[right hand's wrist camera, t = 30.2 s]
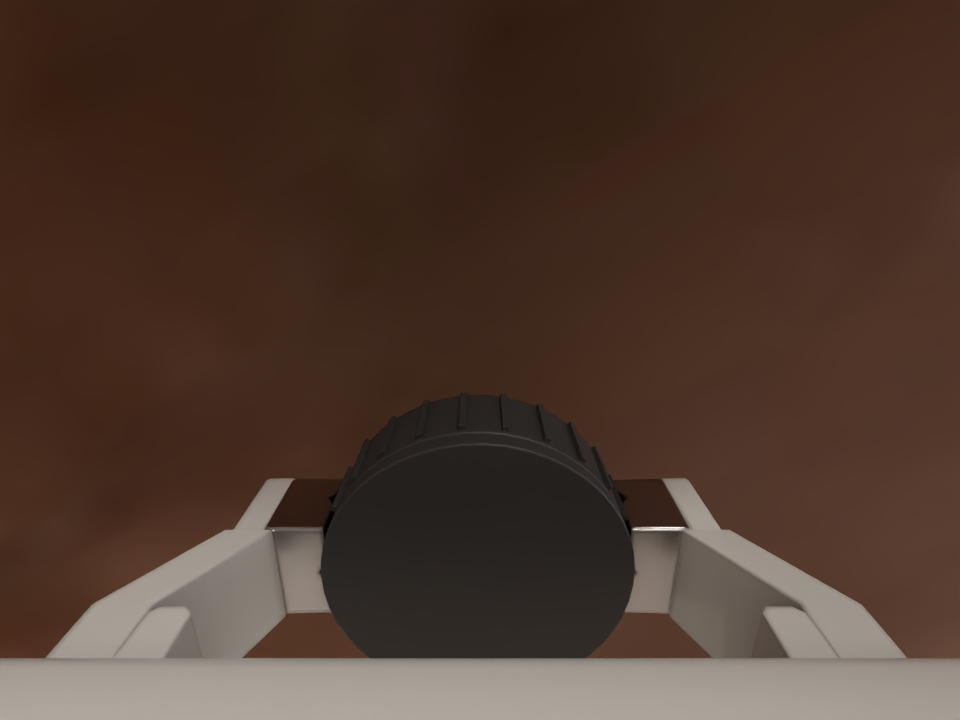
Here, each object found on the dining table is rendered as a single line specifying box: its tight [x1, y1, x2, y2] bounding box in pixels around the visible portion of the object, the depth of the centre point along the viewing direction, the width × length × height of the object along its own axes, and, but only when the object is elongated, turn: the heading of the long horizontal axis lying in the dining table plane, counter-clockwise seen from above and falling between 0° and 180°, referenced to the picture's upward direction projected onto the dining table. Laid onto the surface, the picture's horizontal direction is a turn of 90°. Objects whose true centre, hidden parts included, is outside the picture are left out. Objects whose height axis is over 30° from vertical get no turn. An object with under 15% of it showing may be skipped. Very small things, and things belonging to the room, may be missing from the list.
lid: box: [321, 393, 635, 658], centre depth 9 cm, size 5×5×2 cm
